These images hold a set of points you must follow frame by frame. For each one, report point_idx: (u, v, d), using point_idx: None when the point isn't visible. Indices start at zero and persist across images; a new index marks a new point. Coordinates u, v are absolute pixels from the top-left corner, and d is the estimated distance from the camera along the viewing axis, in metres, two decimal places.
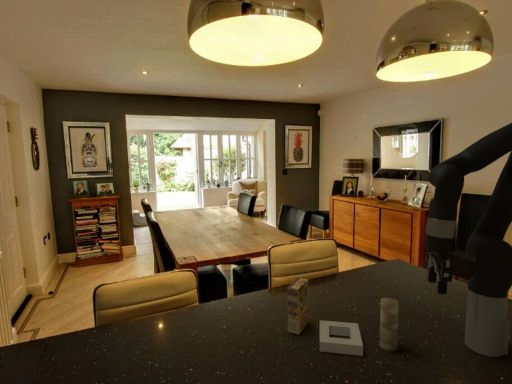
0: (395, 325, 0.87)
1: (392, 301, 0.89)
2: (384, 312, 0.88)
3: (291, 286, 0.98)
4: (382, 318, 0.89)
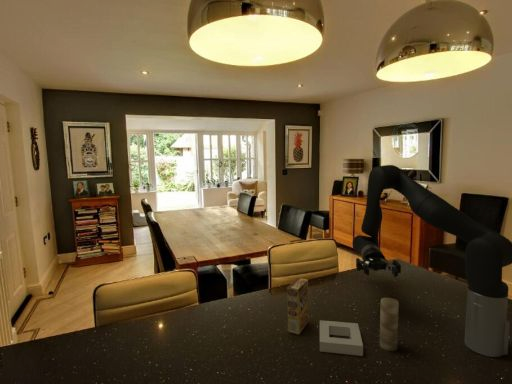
0: (395, 325, 0.87)
1: (392, 301, 0.89)
2: (384, 312, 0.88)
3: (291, 286, 0.98)
4: (382, 318, 0.89)
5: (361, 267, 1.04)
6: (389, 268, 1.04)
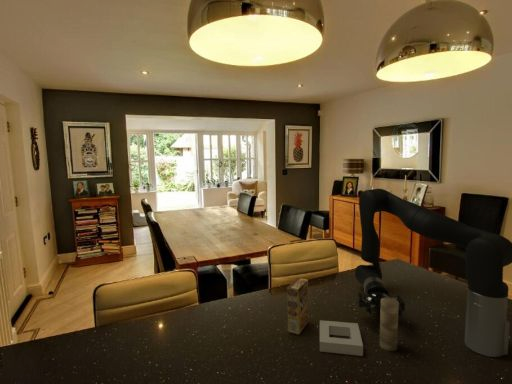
0: (395, 326, 0.87)
1: (392, 301, 0.89)
2: (384, 312, 0.88)
3: (291, 286, 0.98)
4: (382, 318, 0.89)
5: (363, 304, 1.01)
6: None
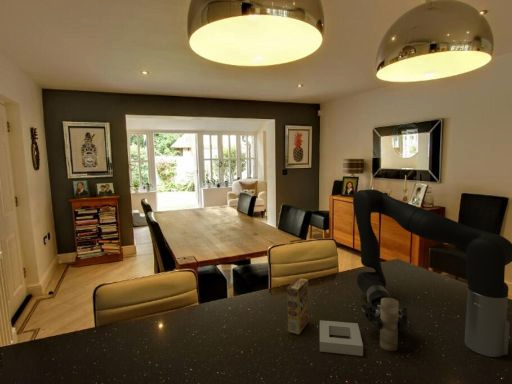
0: (395, 326, 0.87)
1: (392, 301, 0.89)
2: (385, 312, 0.88)
3: (291, 286, 0.98)
4: (382, 318, 0.89)
5: (373, 318, 0.92)
6: None
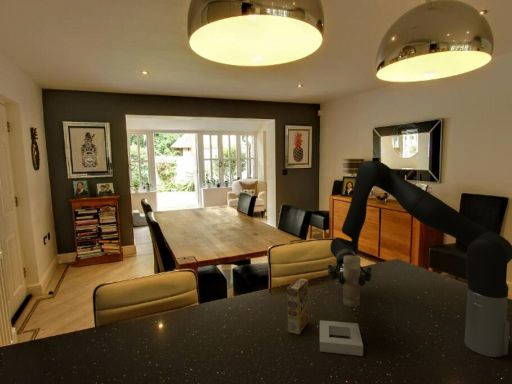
0: (356, 281, 0.89)
1: (354, 258, 0.90)
2: (346, 267, 0.89)
3: (291, 286, 0.98)
4: (344, 274, 0.90)
5: (336, 275, 0.93)
6: None
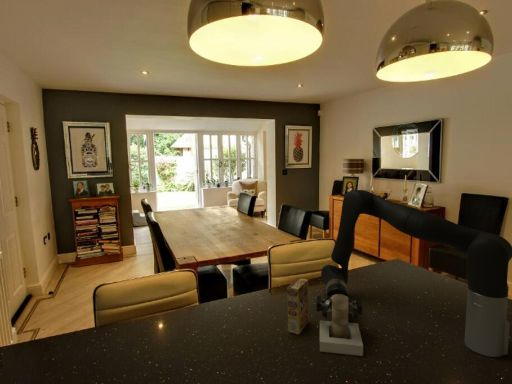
0: (344, 321, 0.90)
1: (343, 297, 0.92)
2: (334, 308, 0.91)
3: (291, 286, 0.98)
4: (333, 314, 0.92)
5: (320, 308, 0.95)
6: (350, 309, 0.95)
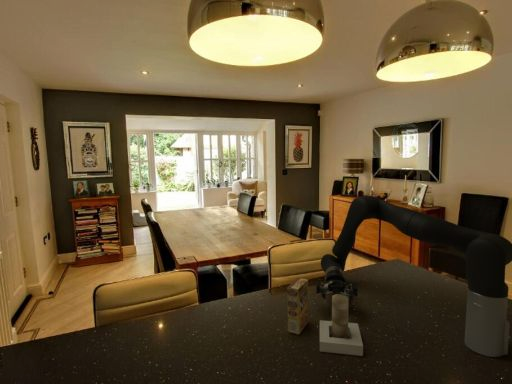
0: (344, 321, 0.90)
1: (343, 297, 0.92)
2: (335, 308, 0.91)
3: (291, 286, 0.98)
4: (333, 314, 0.92)
5: (320, 290, 1.08)
6: (347, 291, 1.08)
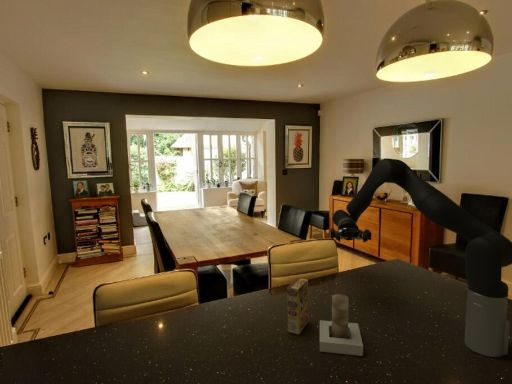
0: (344, 321, 0.90)
1: (343, 297, 0.92)
2: (335, 307, 0.91)
3: (291, 286, 0.98)
4: (333, 314, 0.92)
5: (334, 235, 1.10)
6: (361, 236, 1.10)
